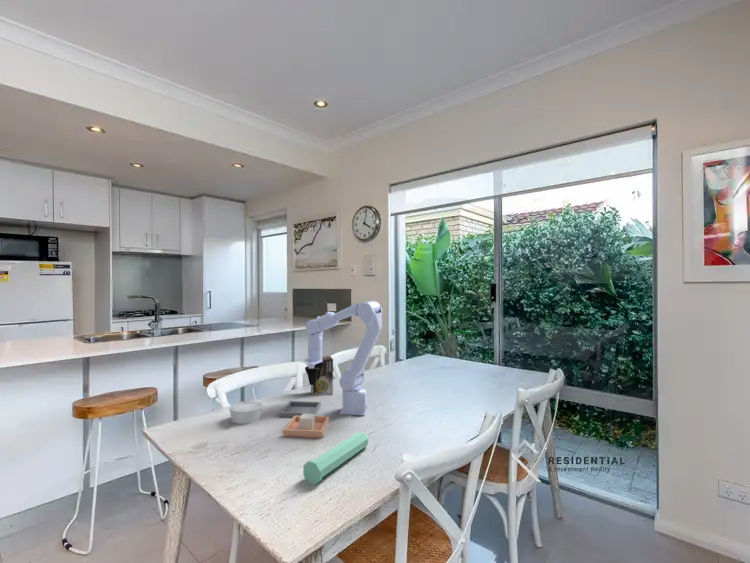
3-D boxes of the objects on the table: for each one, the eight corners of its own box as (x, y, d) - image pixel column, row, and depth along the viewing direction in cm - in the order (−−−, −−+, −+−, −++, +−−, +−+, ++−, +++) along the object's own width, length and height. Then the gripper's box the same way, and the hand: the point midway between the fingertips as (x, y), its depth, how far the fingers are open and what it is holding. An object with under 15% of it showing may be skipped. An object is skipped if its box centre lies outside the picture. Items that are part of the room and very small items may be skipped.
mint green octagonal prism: (360, 424, 114) (307, 456, 93) (374, 435, 112) (323, 471, 90) (353, 440, 115) (299, 475, 94) (368, 451, 113) (316, 490, 91)
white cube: (315, 425, 126) (315, 413, 126) (312, 430, 122) (312, 418, 122) (302, 424, 126) (302, 413, 126) (299, 430, 122) (299, 418, 122)
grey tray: (320, 407, 145) (321, 402, 145) (314, 419, 133) (314, 413, 133) (289, 406, 146) (290, 400, 146) (280, 418, 133) (280, 412, 133)
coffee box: (330, 390, 168) (330, 355, 168) (333, 394, 162) (333, 358, 161) (310, 392, 165) (310, 356, 165) (312, 396, 159) (313, 359, 159)
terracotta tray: (329, 422, 130) (329, 416, 130) (322, 438, 117) (322, 431, 117) (294, 421, 131) (294, 415, 131) (283, 436, 118) (283, 430, 118)
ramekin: (253, 412, 139) (253, 398, 139) (267, 420, 131) (268, 406, 131) (224, 420, 131) (224, 405, 131) (237, 429, 123) (237, 414, 123)
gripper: (309, 345, 156) (309, 376, 156) (300, 352, 141) (300, 386, 141) (325, 345, 155) (325, 377, 155) (318, 352, 141) (318, 387, 141)
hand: (314, 382), depth 148 cm, fingers open, 7 cm apart
